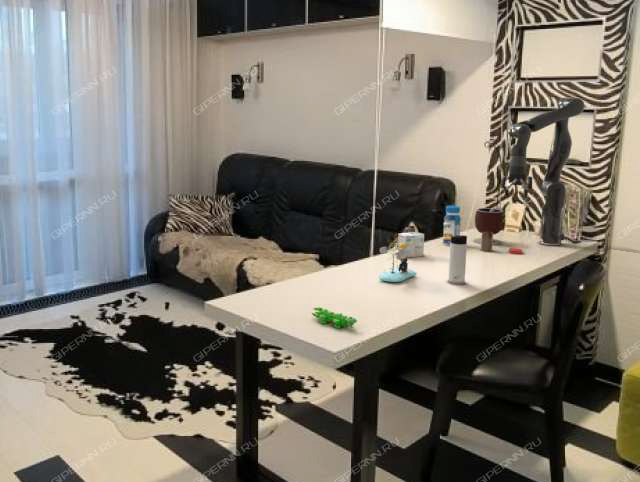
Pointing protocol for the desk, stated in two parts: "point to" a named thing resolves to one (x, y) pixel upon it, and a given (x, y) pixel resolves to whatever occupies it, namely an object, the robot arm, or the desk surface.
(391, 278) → the penguin figurine
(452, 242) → the travel mug
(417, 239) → the light bulb box
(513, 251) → the lid
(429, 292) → the desk surface
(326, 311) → the crocodile figurine
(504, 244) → the desk surface
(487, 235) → the jar
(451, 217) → the blue labeled canister
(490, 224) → the mate gourd
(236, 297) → the desk surface
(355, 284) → the desk surface
